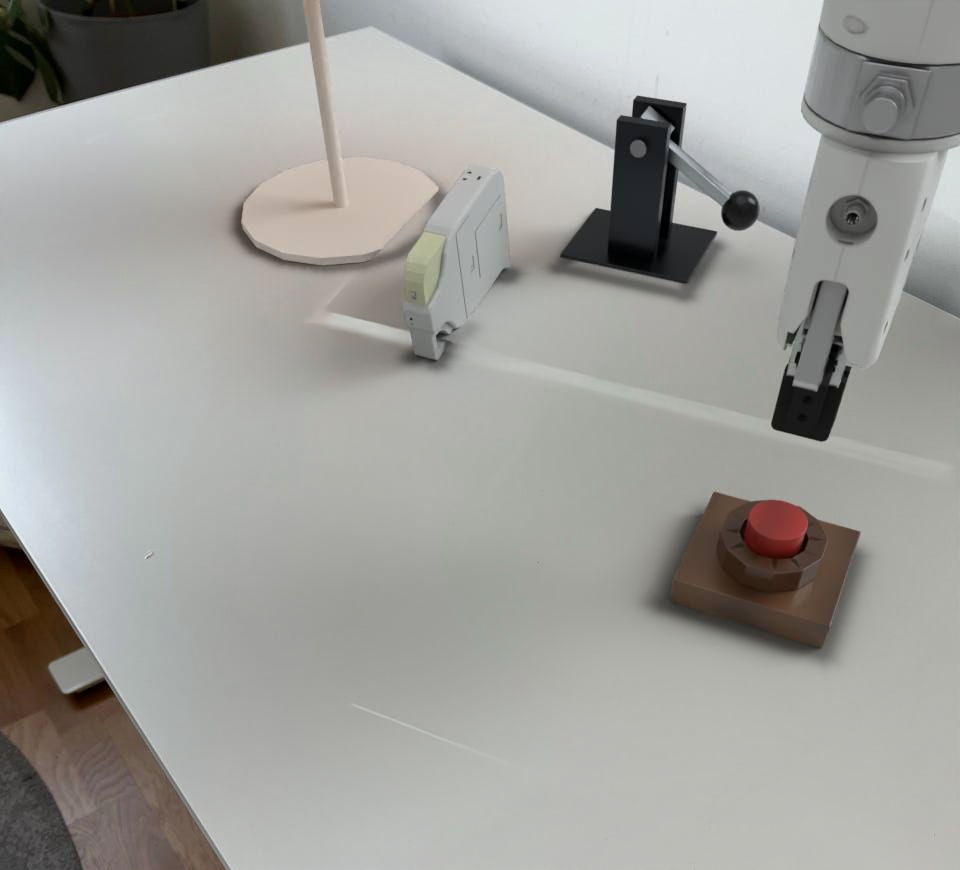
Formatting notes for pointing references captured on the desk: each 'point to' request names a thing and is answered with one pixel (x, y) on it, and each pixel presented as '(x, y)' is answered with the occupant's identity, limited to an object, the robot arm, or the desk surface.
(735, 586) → the button block
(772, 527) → the button
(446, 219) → the grey clip-foot housing
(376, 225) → the desk lamp
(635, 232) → the lever bracket
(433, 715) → the desk surface
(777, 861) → the desk surface
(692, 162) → the tap lever
